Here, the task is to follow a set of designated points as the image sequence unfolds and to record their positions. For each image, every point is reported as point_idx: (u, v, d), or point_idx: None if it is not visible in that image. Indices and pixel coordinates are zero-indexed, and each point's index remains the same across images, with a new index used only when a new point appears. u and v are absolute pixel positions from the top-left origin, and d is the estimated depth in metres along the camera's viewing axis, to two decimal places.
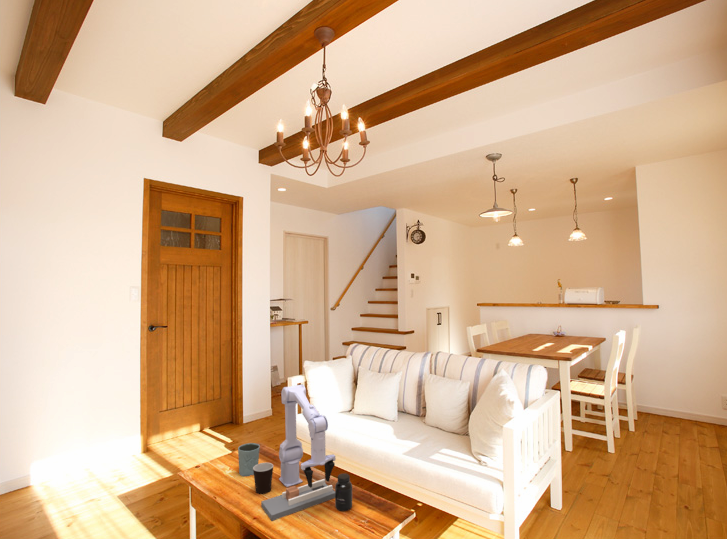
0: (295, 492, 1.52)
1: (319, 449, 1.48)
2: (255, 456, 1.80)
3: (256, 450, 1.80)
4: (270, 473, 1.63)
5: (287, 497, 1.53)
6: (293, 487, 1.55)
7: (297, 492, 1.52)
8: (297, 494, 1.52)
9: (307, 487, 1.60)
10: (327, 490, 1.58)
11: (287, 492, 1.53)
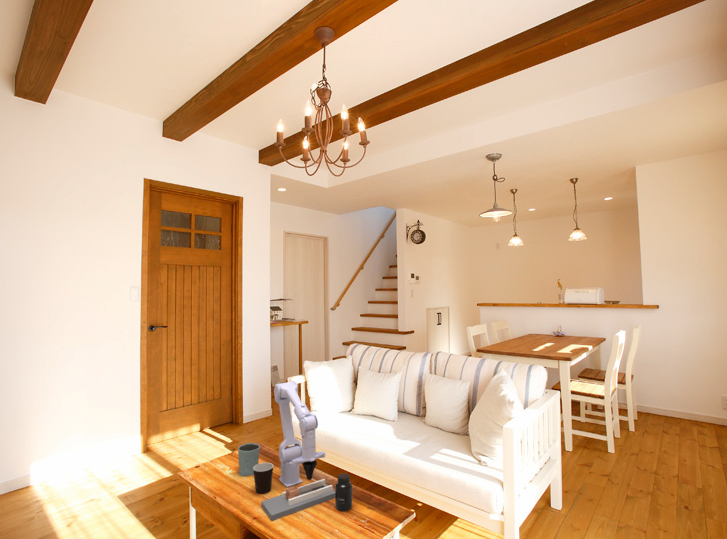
0: (295, 492, 1.52)
1: (309, 446, 1.56)
2: (255, 456, 1.80)
3: (256, 450, 1.80)
4: (270, 473, 1.63)
5: (287, 497, 1.53)
6: (293, 487, 1.55)
7: (297, 492, 1.52)
8: (297, 494, 1.52)
9: (307, 487, 1.60)
10: (327, 490, 1.58)
11: (287, 492, 1.53)
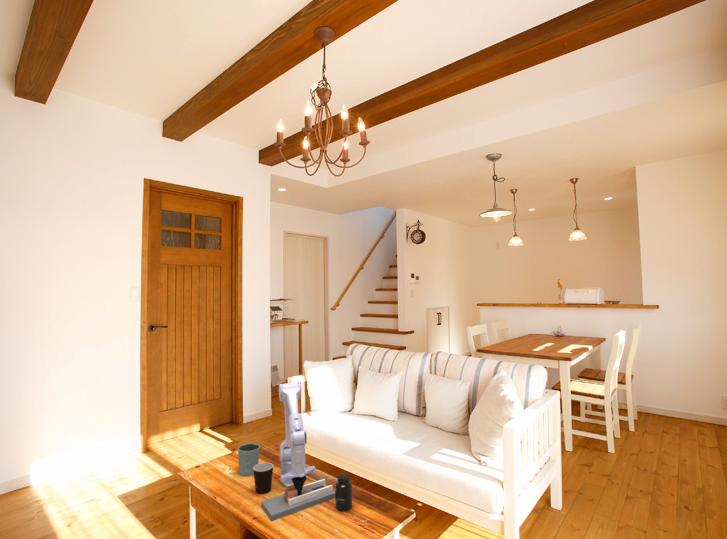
0: (293, 492, 1.52)
1: (297, 462, 1.53)
2: (255, 456, 1.80)
3: (256, 450, 1.80)
4: (270, 473, 1.63)
5: (285, 498, 1.52)
6: (291, 487, 1.54)
7: (295, 492, 1.52)
8: (295, 494, 1.52)
9: (307, 487, 1.60)
10: (327, 490, 1.58)
11: (285, 493, 1.52)
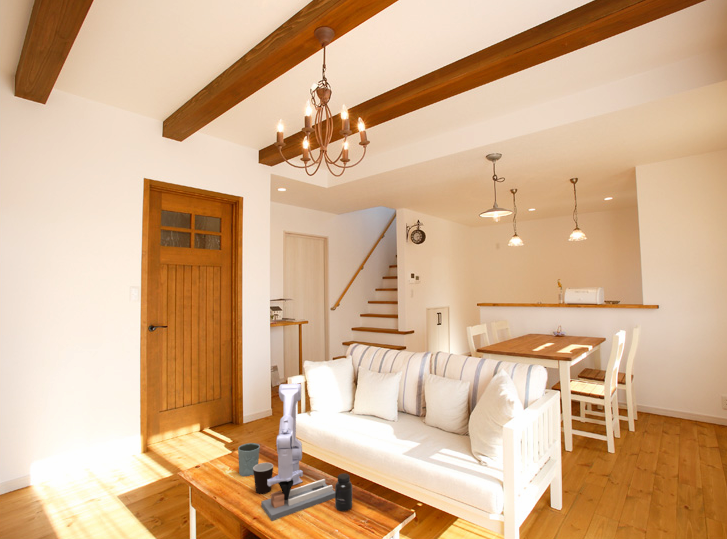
0: (280, 497, 1.48)
1: (282, 465, 1.50)
2: (255, 456, 1.80)
3: (256, 450, 1.80)
4: (270, 473, 1.63)
5: (272, 502, 1.49)
6: (278, 492, 1.51)
7: (282, 497, 1.49)
8: (282, 499, 1.49)
9: (307, 487, 1.60)
10: (327, 490, 1.58)
11: (272, 497, 1.49)
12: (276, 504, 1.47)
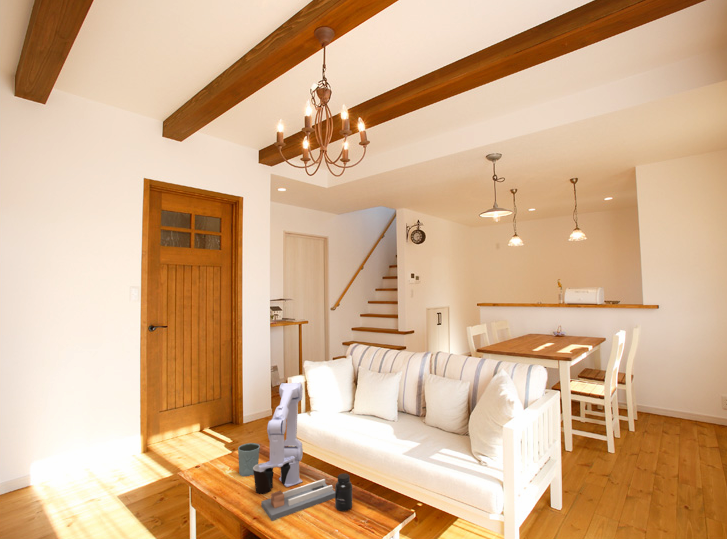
0: (280, 497, 1.48)
1: (272, 451, 1.48)
2: (255, 456, 1.80)
3: (256, 450, 1.80)
4: None
5: (272, 502, 1.49)
6: (278, 492, 1.51)
7: (282, 497, 1.49)
8: (282, 499, 1.49)
9: (307, 487, 1.60)
10: (327, 490, 1.58)
11: (272, 497, 1.49)
12: (276, 504, 1.47)
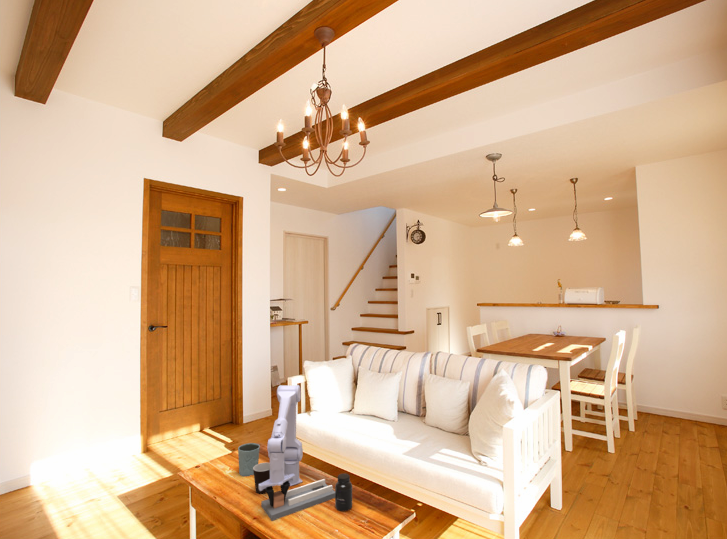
0: (280, 497, 1.48)
1: (272, 469, 1.48)
2: (255, 456, 1.80)
3: (256, 450, 1.80)
4: None
5: None
6: (278, 492, 1.51)
7: (282, 497, 1.49)
8: (282, 499, 1.49)
9: (307, 487, 1.60)
10: (327, 490, 1.58)
11: None
12: (276, 504, 1.47)
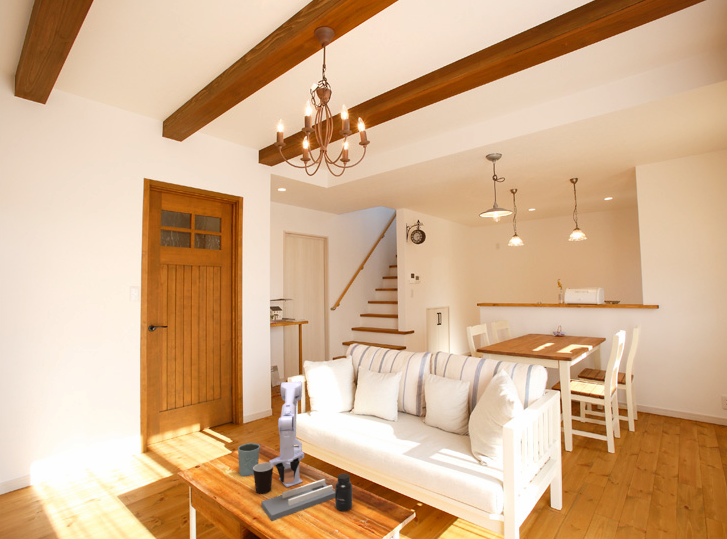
0: (290, 474, 1.53)
1: (284, 447, 1.53)
2: (255, 456, 1.80)
3: (256, 450, 1.80)
4: (270, 473, 1.63)
5: None
6: (288, 469, 1.56)
7: (291, 474, 1.54)
8: (292, 476, 1.54)
9: (307, 487, 1.60)
10: (327, 490, 1.58)
11: None
12: (286, 480, 1.52)
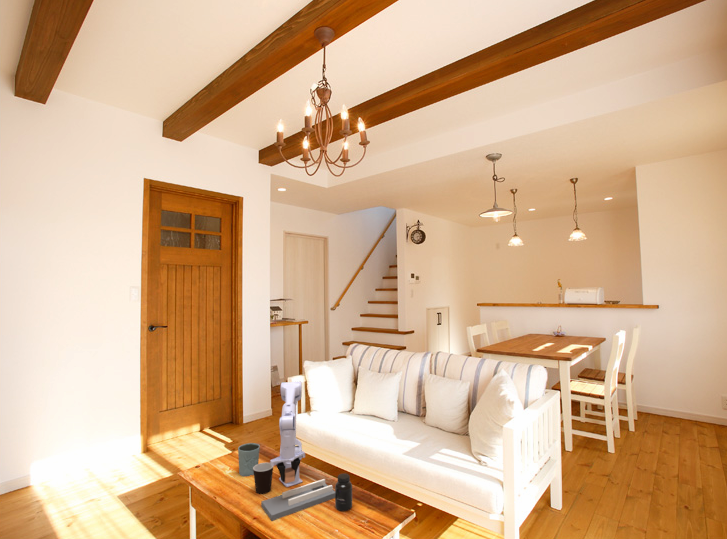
0: (291, 473, 1.54)
1: (285, 446, 1.53)
2: (255, 456, 1.80)
3: (256, 450, 1.80)
4: (270, 473, 1.63)
5: None
6: (289, 468, 1.56)
7: (292, 473, 1.54)
8: (293, 475, 1.54)
9: (307, 487, 1.60)
10: (327, 490, 1.58)
11: None
12: (287, 479, 1.52)
